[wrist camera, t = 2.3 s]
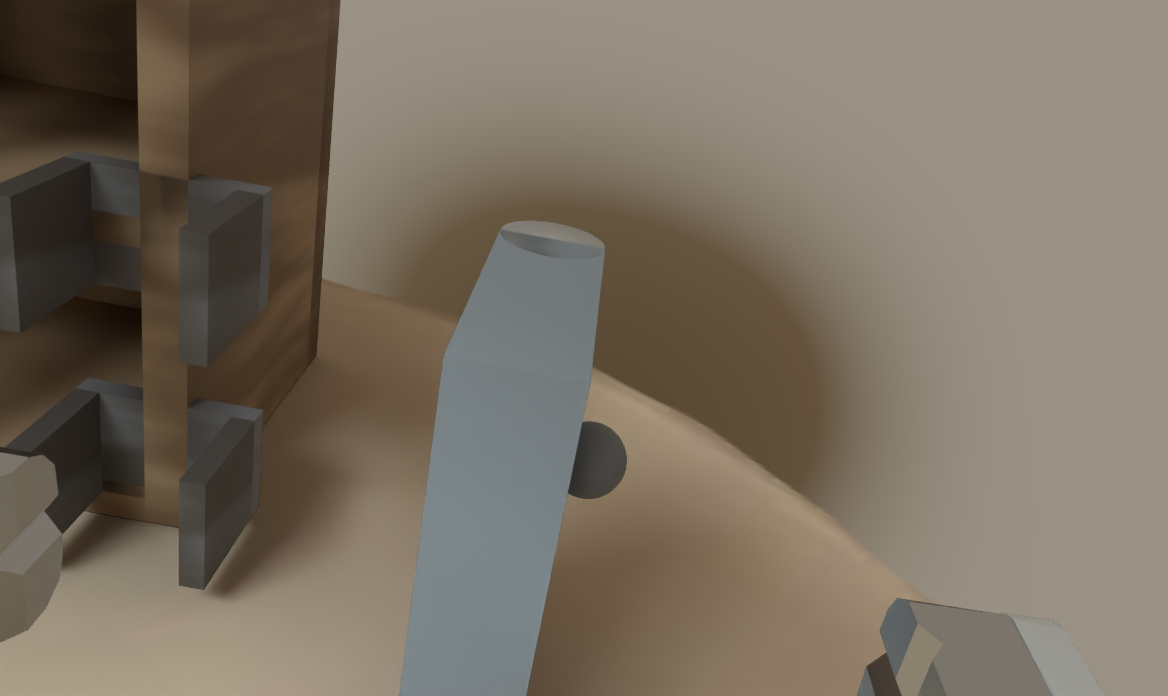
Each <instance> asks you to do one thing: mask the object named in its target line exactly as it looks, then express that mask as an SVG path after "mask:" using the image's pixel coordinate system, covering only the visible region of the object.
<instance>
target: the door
mask: <svg viewBox="0 0 1168 696" xmlns="http://www.w3.org/2000/svg"><path fill="white" fill-rule="evenodd" d="M604 253H605V246H604V244H603V243H602V242H601V241H600V240H599V239H597V238H596V237H595V236H593V235H591V234H589V233H587V232H584V231H582V230H579V229H576V228H573V227H570V226H566V225H561V224H557V223H551V222H543V221H518V222H513V223H509V224H506V225H504V226H503V227H502V228H501V230H500V232H499V234H498V236H497V238H496V241H495V243H494V245H493V247H492V249H491V252H490V254H489V256H488V258H487V261H486V263H485V265H484V267H483V269H482V272H481V274H480V276H479V278H478V280H477V283H476V285H475V287H474V289H473V291H472V294H471V296H470V298H469V300H468V303H467V305H466V307H465V309H464V311H463V314H462V316H461V318H460V320H459V322H458V325H457V327H456V329H455V331H454V333H453V336H452V338H451V340H450V342H449V345H448V347H447V349H446V351H445V353H444V357H443V365H442V372H441V380H440V388H439V395H438V403H437V411H436V418H435V426H434V434H433V441H432V449H431V457H430V464H429V472H428V480H427V487H426V495H425V503H424V510H423V518H422V526H421V533H420V541H419V548H418V556H417V564H416V571H415V579H414V587H413V594H412V602H411V610H410V617H409V625H408V633H407V640H406V648H405V656H404V663H403V671H402V679H401V686H400V694H399V696H526V694H527V689H528V684H529V679H530V674H531V670H532V665H533V660H534V655H535V650H536V645H537V640H538V636H539V631H540V626H541V621H542V616H543V611H544V606H545V601H546V597H547V592H548V587H549V582H550V577H551V572H552V567H553V562H554V558H555V553H556V548H557V543H558V538H559V533H560V528H561V524H562V519H563V514H564V509H565V504H566V499H567V494H568V493H569V494H570V495H572V496H575V497H578V498H583V499H594V498H599V497H602V496H604V495H606V494H608V493H610V492H611V491H612V490H613V489H615V488H616V487H617V485H618V484H619V483H620V481H621V480H622V478H623V476H624V473H625V470H626V464H627V456H626V451H625V447H624V445H623V443H622V441H621V439H620V438H619V436H618V435H617V434H616V433H615V432H614V431H613V430H612V429H610V428H609V427H607V426H605V425H603V424H601V423H597V422H589V421H588V422H582V421H583V416H584V412H585V407H586V402H587V397H588V392H589V387H590V382H591V373H592V364H593V355H594V345H595V336H596V327H597V318H598V309H599V298H600V290H601V281H602V272H603V262H604Z"/></svg>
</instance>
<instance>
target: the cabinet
mask: <svg viewBox="0 0 1168 696" xmlns="http://www.w3.org/2000/svg"><path fill="white" fill-rule="evenodd" d="M339 13H340V0H0V447H5V448H10V449H15V450H21V451H26V452H31V453H37V454H42V455H44V456H45V457H46V458H47V459H49V460H50V461H51V462H52V463H53V464H54V465H55V471H56V479H57V487H58V496H57V497H56V498H55V499H54V500H53V501H52V502H51V504H50V505H49V506H48V507H47V508H46V509H45V511H44V512H45V513H46V514H47V515H48V517H49V518H50V519H51V520H52V522H53V523H54V524H55V525H56V527H57V528H58V529H59V531H60V532H61V533H62V534H63V533H64V532H65V531H66V530H67V529H68V528H69V527H70V525H71V524H72V523H73V522H74V521H75V520H76V519H77V518H78V517H79V516H80V515H81V514H82V513H83V512H84V511H90V512H95V513H101V514H106V515H112V516H117V517H123V518H129V519H134V520H140V521H145V522H151V523H156V524H162V525H167V526H173V527H178V528H179V586H185V587H190V588H196V589H201V590H204V589H205V587H206V586H207V584H208V583H209V581H210V580H211V578H212V577H213V575H214V574H215V572H216V571H217V569H218V568H219V566H220V564H221V563H222V561H223V560H224V558H225V557H226V555H227V554H228V552H229V551H230V549H231V548H232V546H233V544H234V543H235V541H236V540H237V538H238V537H239V535H240V534H241V532H242V531H243V529H244V528H245V526H246V525H247V523H248V521H249V520H250V518H251V517H252V515H253V514H254V512H255V511H256V509H257V508H258V506H259V497H260V473H261V450H262V427H263V426H264V425H265V423H266V422H267V421H268V419H269V418H270V416H271V415H272V414H273V412H274V411H275V410H276V408H277V407H278V406H279V404H280V403H281V402H282V400H283V399H284V398H285V396H286V395H287V394H288V392H289V391H290V390H291V388H292V387H293V386H294V384H295V383H296V382H297V380H298V379H299V378H300V376H301V375H302V374H303V372H304V371H305V369H306V368H307V367H308V365H309V364H310V363H311V361H312V360H313V359H314V357H315V356H316V352H317V338H318V323H319V308H320V293H321V279H322V264H323V248H324V234H325V220H326V205H327V190H328V175H329V161H330V145H331V130H332V116H333V102H334V87H335V73H336V58H337V43H338V28H339Z"/></svg>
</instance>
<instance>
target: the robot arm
mask: <svg viewBox="0 0 1168 696" xmlns="http://www.w3.org/2000/svg"><path fill="white" fill-rule="evenodd" d="M57 496H58V487H57V479H56V471H55V465H54V464H53V463H52V462H51V461H50V460H49V459H47V458H46V457H45V456H44V455H42V454H37V453H31V452H26V451H21V450H15V449H10V448H5V447H0V642H3V641H5V640H7V639H9V638H11V637H14V636H16V635H18V634H20V633H22V632H25V631H27V630H28V629H29V628H30V627H31V626H32V625H33V623H34V622H35V621H36V620H37V618H38V617H39V616H40V615H41V614H42V612H43V611H44V610H45V609H46V607H47V605H48V603H49V601H50V598H51V596H52V594H53V592H54V590H55V587H56V585H57V583H58V581H59V578H60V571H61V565H62V559H63V545H62V533H61V532H60V531H59V529H58V528H57V527H56V525H55V524H54V523H53V522H52V520H51V519H50V518H49V517H48V515H47V514H46V513H45V512H44V511H45V509H46V508H47V507H48V506H49V505H50V504H51V502H52V501H53V500H54V499H55V498H56V497H57ZM880 633H881V636H882V639H883V642H884V645H885V649H886V652H887V653H885V654H884V655H882V656H881V657H879V658H878V659H877V660H875V661H874V662H872V663H871V664H869V665H868V666H866V669H865V673H864V676H863V679H862V682H861V685H860V688H859V691H858V695H857V696H1105V694H1104V692H1103V691H1102V689H1101V687H1100V686H1099V684H1098V682H1097V681H1096V679H1095V677H1094V676H1093V674H1092V672H1091V671H1090V669H1089V668H1088V666H1087V664H1086V662H1085V661H1084V659H1083V658H1082V656H1081V654H1080V653H1079V651H1078V649H1077V648H1076V646H1075V645H1074V643H1073V641H1072V639H1071V638H1070V636H1069V635H1068V633H1067V631H1066V630H1065V629H1064V628H1063V627H1062V626H1061V625H1059V624H1057V623H1056V622H1055V621H1054V620H1050V619H1043V618H1035V617H1028V616H1020V615H1013V614H1006V613H1000V614H995V613H989V612H983V611H976V610H970V609H964V608H957V607H951V606H944V605H938V604H932V603H925V602H919V601H912V600H906V599H900V598H897V599H896V600H895V601H894V603H893V604H892V605H891V606H890V608H889V609H888V611H887V613H886V616H885V618H884V621H883V623H882V626H881V629H880Z"/></svg>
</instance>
